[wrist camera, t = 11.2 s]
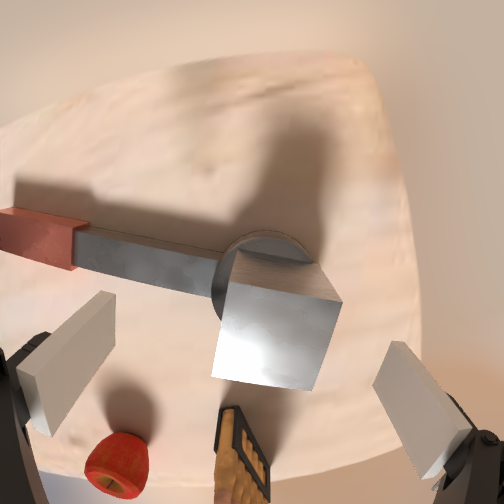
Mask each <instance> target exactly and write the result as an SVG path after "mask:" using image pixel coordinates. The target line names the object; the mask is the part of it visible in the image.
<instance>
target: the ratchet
mask: <svg viewBox="0 0 504 504" xmlns="http://www.w3.org/2000/svg"><path fill="white" fill-rule="evenodd" d="M238 248H239V249H244V250H249V251H254V252H259V253H264V254H269V255H274V256H279V257H284V258H290V259H295V260H300V261H305V262H310V263H314V262H313V261H312V259H311V257H310V256H309V254H308V253H307V251H306V250H305V249H304V247H303V246H302V245H301V244H300V243H299V242H298V241H296V240H295V239H294V238H292V237H290V236H288V235H286V234H284V233H280V232H277V231H270V230H262V231H255V232H252V233H249V234H246V235H244V236H242V237H240V238H238V239H237V240H236V241H234V242H233V243H232V244H231V245H230V246H229V247H228V248H227V250H226V251H225V252H224V253H223V252H218V251H212V250H207V249H202V248H197V247H192V246H187V245H182V244H177V243H172V242H167V241H162V240H157V239H152V238H147V237H142V236H137V235H132V234H127V233H122V232H117V231H112V230H107V229H102V228H97V227H92V226H90V222H86V221H81V220H76V219H71V218H66V217H61V216H56V215H51V214H46V213H41V212H36V211H31V210H25V209H20V208H15V207H11V208H7V209H2V210H0V250H2V251H5V252H8V253H12V254H15V255H18V256H21V257H24V258H28V259H31V260H34V261H38V262H41V263H44V264H48V265H51V266H55V267H58V268H62V269H65V270H69V271H72V270H74V269H76V268H77V267H81V268H84V269H88V270H92V271H96V272H100V273H104V274H108V275H112V276H116V277H120V278H124V279H128V280H133V281H137V282H141V283H145V284H150V285H154V286H159V287H163V288H167V289H172V290H177V291H181V292H186V293H191V294H195V295H200V296H205V297H210V298H212V303H213V306H214V309H215V311H216V313H217V315H218V317H219V319H220V320H221V321H222V316H223V310H224V305H225V299H226V294H227V289H228V283H229V279H230V275H231V272H232V268H233V264H234V261H235V257H236V253H237V250H238Z"/></svg>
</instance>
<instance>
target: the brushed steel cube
mask: <svg viewBox="0 0 504 504" xmlns="http://www.w3.org/2000/svg"><path fill="white" fill-rule="evenodd" d="M342 303H343V302H342V300H341V299H340V297H339V295H338V294H337V292H336V291H335V289H334V288H333V286H332V284H331V283H330V281H329V280H328V278H327V277H326V275H325V274H324V272H323V271H322V269H321V267H320V266H319V264H315V263H310V262H305V261H300V260H295V259H290V258H284V257H279V256H274V255H269V254H264V253H259V252H254V251H249V250H244V249H239V248H238V250H237V253H236V257H235V261H234V264H233V268H232V272H231V275H230V279H229V283H228V289H227V294H226V299H225V305H224V310H223V316H222V322H221V327H220V333H219V338H218V344H217V350H216V355H215V361H214V367H213V373H212V376H214V377H219V378H225V379H230V380H235V381H241V382H247V383H253V384H260V385H266V386H273V387H281V388H288V389H297V390H306V391H312V389H313V386H314V384H315V381H316V378H317V376H318V373H319V371H320V368H321V365H322V362H323V360H324V357H325V354H326V351H327V348H328V346H329V343H330V340H331V337H332V334H333V331H334V328H335V325H336V322H337V319H338V316H339V313H340V309H341V306H342Z"/></svg>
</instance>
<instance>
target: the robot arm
mask: <svg viewBox="0 0 504 504" xmlns="http://www.w3.org/2000/svg"><path fill="white" fill-rule="evenodd" d="M115 306H116V294H113V293H109V292H105V291H100V292H99V293H98V294H97V295H95V296H94V297H93V298H92V299H91V300H89V301H88V302H87V303H86V304H85V305H84V306H83V307H81V308H80V309H79V310H78V311H77V312H76V313H75V314H73V315H72V316H71V317H70V318H69V319H68V320H67V321H65V322H64V323H63V324H62V325H61V326H60V327H59V328H58V329H57V330H55V331H54V332H53V333H52V334H51V333H48V332H46V331H45V332H43V333H40V334H38V335H35V336H34V337H33V338H32V339H31V340H29V341H28V342H27V344H25V345H24V346H23V347H21V349H19V350H18V351H17V352H16V353H15V354H14V355H12V356H11V357H10V358H9V359H8V360H7V361H6V360H5V356H4V353H3V350H2V349H1V348H0V504H49V502H48V500H47V497H46V494H45V491H44V488H43V485H42V482H41V479H40V476H39V473H38V470H37V466H36V463H35V459H34V456H33V452H32V448H31V444H30V440H29V436H28V431H27V428H26V426H25V424H26V423H27V422H28V420H29V419H30V418H31V421H32V424H33V427H34V429H35V430H37V431H39V432H41V433H43V434H45V435H48V436H50V437H53V435H54V434H55V432H56V431H57V429H58V427H59V426H60V424H61V423H62V421H63V420H64V418H65V417H66V415H67V414H68V412H69V411H70V409H71V408H72V406H73V405H74V403H75V402H76V400H77V399H78V398H79V396H80V395H81V393H82V392H83V390H84V389H85V387H86V386H87V384H88V383H89V382H90V380H91V379H92V377H93V376H94V374H95V373H96V372H97V370H98V369H99V367H100V366H101V365H102V363H103V362H104V360H105V359H106V358H107V356H108V355H109V353H110V352H111V351H112V349H113V348H114V346H115ZM372 386H373V388H374V389H375V391H376V393H377V395H378V397H379V399H380V401H381V403H382V405H383V407H384V408H385V410H386V412H387V414H388V416H389V418H390V420H391V422H392V424H393V426H394V428H395V430H396V432H397V434H398V436H399V438H400V440H401V442H402V443H403V445H404V447H405V449H406V451H407V453H408V455H409V457H410V460H411V461H412V463H413V466H414V468H415V470H416V471H417V474H418V476H419V478H420V480H422V479H426V478H431V477H435V476H436V475H437V473H438V472H439V471H440V470H441V469H442V468H443V467H444V469H445V471H446V473H445V474H444V475H443V476H442V477H441V479H440V480H439V481H438V482H437V483H436V484H435V485H434V487H433V488H432V490H434V489H435V488H436V487H438V486H439V488H438V490H437V494H436V497H435V500H434V503H433V504H504V441H500V440H499V438H498V437H497V436H496V435H495V434H494V433H492V432H490V431H488V430H478V429H477V428H476V426H475V425H474V424H473V422H472V421H471V420H470V418H469V417H468V416H467V415H466V413H465V412H463V409H462V408H461V407H459V404H458V403H457V402H456V401H455V399H454V398H453V397H452V396H450V395H449V394H448V393H446V392H445V391H444V390H443V389H442V388H441V386H440V385H439V384H438V383H437V381H436V380H435V379H434V377H433V376H432V375H431V374H430V373H429V372H428V370H427V369H426V368H425V366H424V365H423V364H422V363H421V362H420V360H419V359H418V358H417V357H416V355H415V354H414V353H413V352H412V351H411V349H410V348H409V347H408V346H407V345H406V344H405V342H399V341H392V342H391V344H390V346H389V349H388V351H387V354H386V356H385V358H384V361H383V363H382V365H381V368H380V370H379V372H378V374H377V377H376V379H375V381H374V383H373V385H372Z"/></svg>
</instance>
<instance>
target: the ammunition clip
mask: <svg viewBox="0 0 504 504" xmlns="http://www.w3.org/2000/svg"><path fill="white" fill-rule="evenodd" d="M214 452H215V453H216V455H217V456H216V464H215V471H214V481H215V490H214V492H215V494H214V504H268V503H270V467H269V465H268V463H267V461H266V459H265V457H264V455H263V453H262V451H261V449H260V447H259V446H258V444H257V442H256V440H255V438H254V436H253V434H252V432H251V430H250V428H249V426H248V424H247V422H246V420H245V418H244V416H243V413H242V411H241V409H240V407H239V406H231V407H226V408H220V409H219V414H218V421H217V428H216V436H215V443H214Z"/></svg>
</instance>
